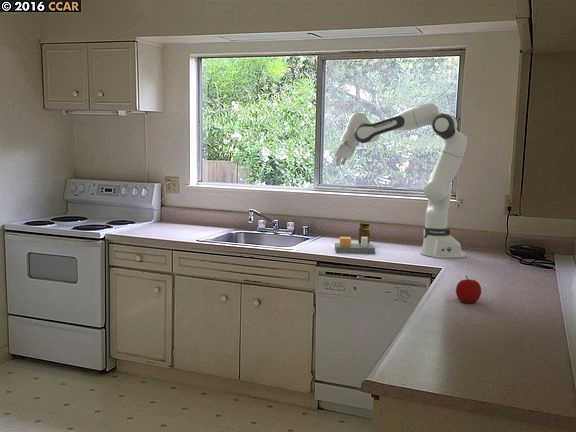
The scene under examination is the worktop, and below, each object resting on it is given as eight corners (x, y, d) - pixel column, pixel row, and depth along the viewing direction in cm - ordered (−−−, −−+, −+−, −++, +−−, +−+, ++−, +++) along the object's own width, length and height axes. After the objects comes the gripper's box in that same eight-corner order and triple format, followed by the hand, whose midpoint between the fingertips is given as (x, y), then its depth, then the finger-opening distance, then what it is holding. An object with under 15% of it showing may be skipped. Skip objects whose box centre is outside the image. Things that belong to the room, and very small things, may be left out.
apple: (469, 306, 225) (471, 279, 224) (449, 300, 232) (451, 274, 231) (485, 303, 230) (487, 276, 229) (465, 297, 238) (467, 271, 236)
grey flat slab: (372, 249, 329) (372, 242, 328) (374, 254, 317) (375, 247, 316) (334, 248, 329) (334, 241, 329) (335, 252, 317) (336, 246, 317)
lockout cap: (350, 244, 326) (350, 236, 325) (350, 246, 320) (351, 238, 319) (339, 244, 326) (339, 236, 325) (340, 246, 320) (340, 238, 320)
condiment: (372, 245, 342) (373, 223, 340) (362, 246, 336) (363, 225, 335) (362, 243, 347) (363, 222, 346) (352, 244, 341) (353, 223, 340)
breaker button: (366, 246, 324) (367, 236, 323) (367, 247, 321) (367, 237, 320) (361, 246, 324) (361, 236, 323) (361, 247, 321) (362, 237, 321)
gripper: (348, 143, 320) (338, 168, 324) (359, 143, 339) (350, 166, 342) (338, 139, 322) (328, 163, 326) (349, 138, 341) (340, 161, 344)
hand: (339, 164), depth 334 cm, fingers open, 8 cm apart
